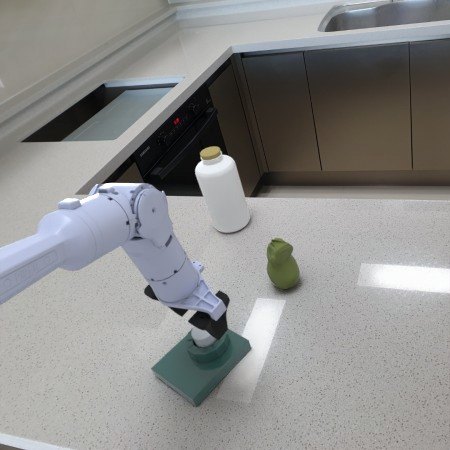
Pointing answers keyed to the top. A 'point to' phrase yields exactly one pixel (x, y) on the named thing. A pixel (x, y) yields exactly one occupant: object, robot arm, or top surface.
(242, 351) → the green socket base
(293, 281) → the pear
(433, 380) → the top surface
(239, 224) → the white bottle
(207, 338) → the light grey short cylinder
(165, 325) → the top surface
